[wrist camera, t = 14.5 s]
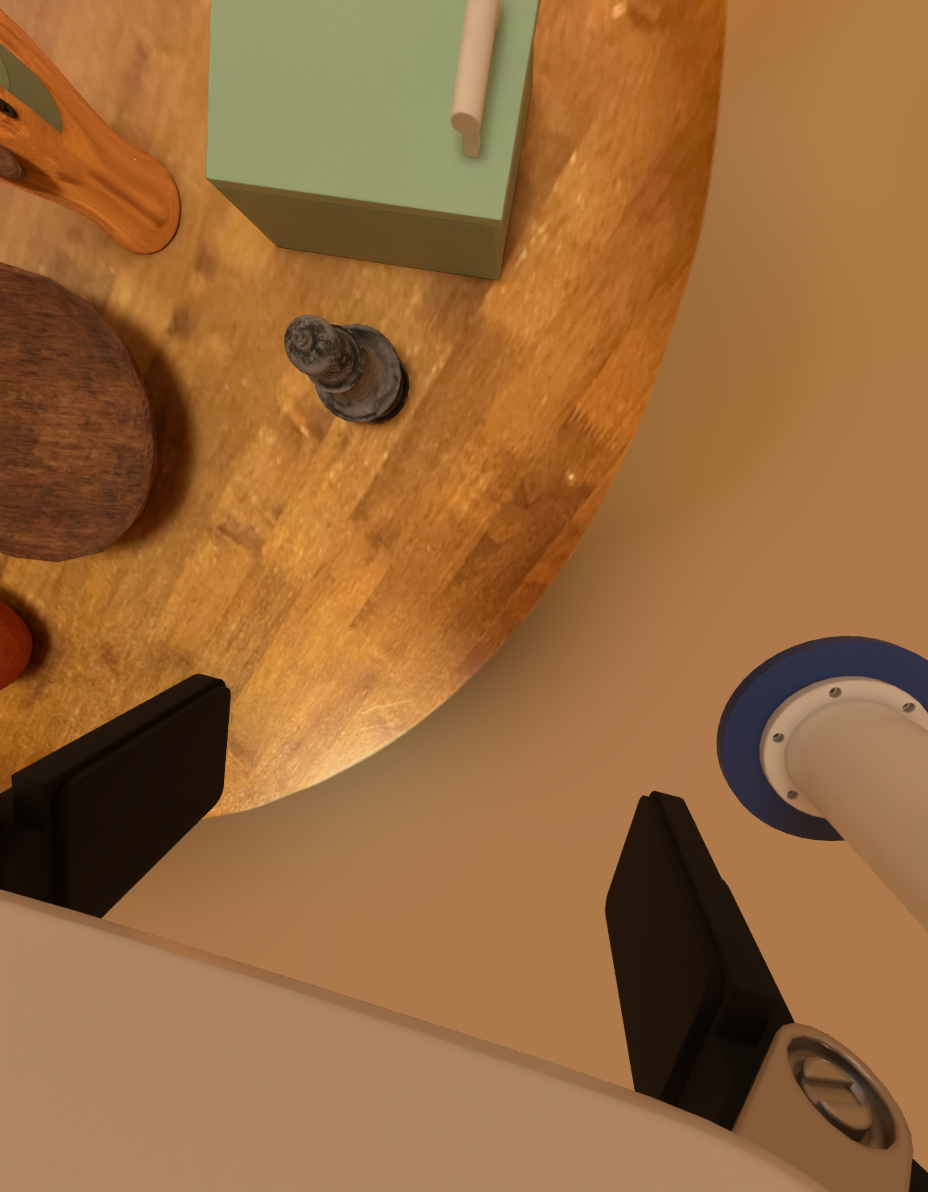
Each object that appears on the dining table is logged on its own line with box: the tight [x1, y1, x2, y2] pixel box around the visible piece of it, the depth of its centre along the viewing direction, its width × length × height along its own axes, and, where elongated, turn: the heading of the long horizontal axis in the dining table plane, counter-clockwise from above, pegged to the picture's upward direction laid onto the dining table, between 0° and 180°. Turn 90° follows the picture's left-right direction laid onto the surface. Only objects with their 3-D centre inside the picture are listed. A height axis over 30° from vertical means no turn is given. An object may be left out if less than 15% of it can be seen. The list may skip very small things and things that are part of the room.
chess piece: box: [284, 315, 409, 424], centre depth 28 cm, size 6×6×12 cm
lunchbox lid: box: [206, 0, 541, 227], centre depth 22 cm, size 16×11×4 cm, turn 80°
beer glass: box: [0, 9, 180, 254], centre depth 26 cm, size 7×7×15 cm
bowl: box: [0, 262, 158, 562], centre depth 35 cm, size 20×22×5 cm
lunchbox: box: [216, 42, 534, 280], centre depth 27 cm, size 16×11×7 cm
